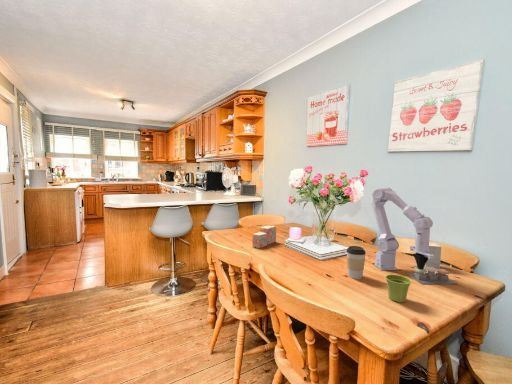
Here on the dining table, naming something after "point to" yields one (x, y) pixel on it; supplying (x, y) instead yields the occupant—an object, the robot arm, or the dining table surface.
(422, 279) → the keypad base
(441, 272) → the key terracotta
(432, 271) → the key cream
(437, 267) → the supplement box
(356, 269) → the coffee cup
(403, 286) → the plant pot
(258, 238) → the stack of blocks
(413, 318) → the dining table surface
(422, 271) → the key sage
